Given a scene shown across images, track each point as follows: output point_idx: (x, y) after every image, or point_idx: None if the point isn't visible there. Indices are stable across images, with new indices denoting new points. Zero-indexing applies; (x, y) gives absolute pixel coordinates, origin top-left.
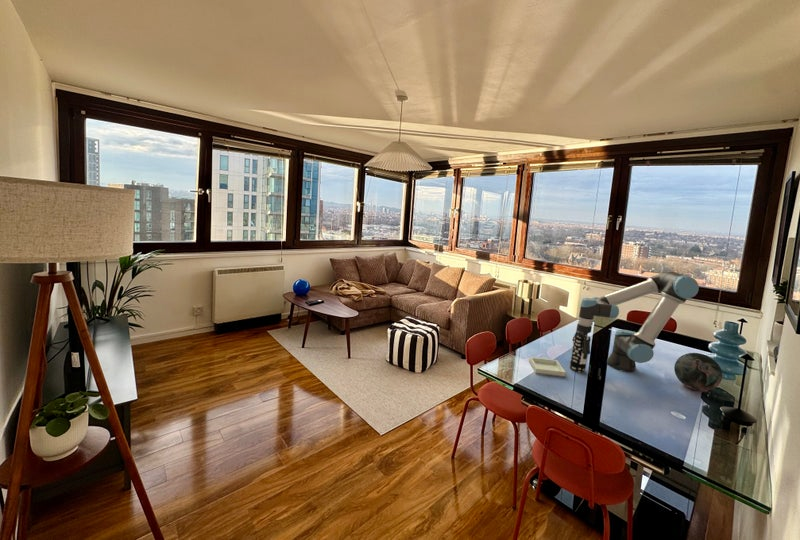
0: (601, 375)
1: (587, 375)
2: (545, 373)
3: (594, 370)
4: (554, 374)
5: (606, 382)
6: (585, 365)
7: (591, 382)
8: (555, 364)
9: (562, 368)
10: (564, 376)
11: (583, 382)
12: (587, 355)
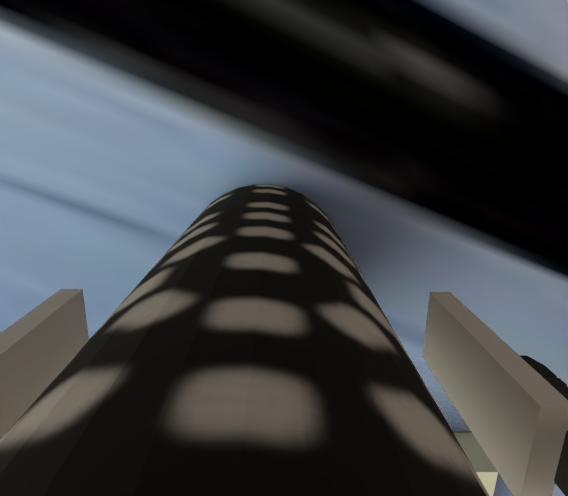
0: (369, 18)
1: (400, 204)
2: None
3: (238, 50)
4: None
5: (550, 45)
6: (328, 224)
7: (558, 228)
8: None
9: None
10: (473, 441)
11: (562, 308)
12: (340, 264)
